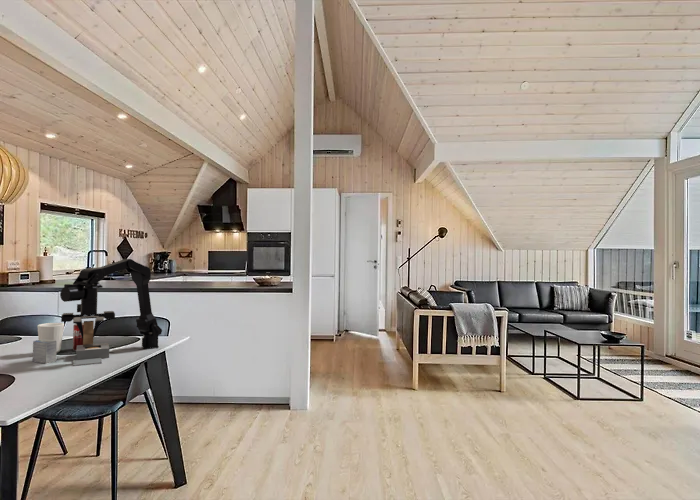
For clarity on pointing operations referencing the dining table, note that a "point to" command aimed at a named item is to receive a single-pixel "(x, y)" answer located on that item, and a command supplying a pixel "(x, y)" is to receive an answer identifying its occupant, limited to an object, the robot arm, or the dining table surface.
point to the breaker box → (92, 352)
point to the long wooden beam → (88, 333)
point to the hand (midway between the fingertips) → (88, 337)
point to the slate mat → (87, 362)
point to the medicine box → (44, 351)
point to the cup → (51, 333)
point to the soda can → (77, 337)
